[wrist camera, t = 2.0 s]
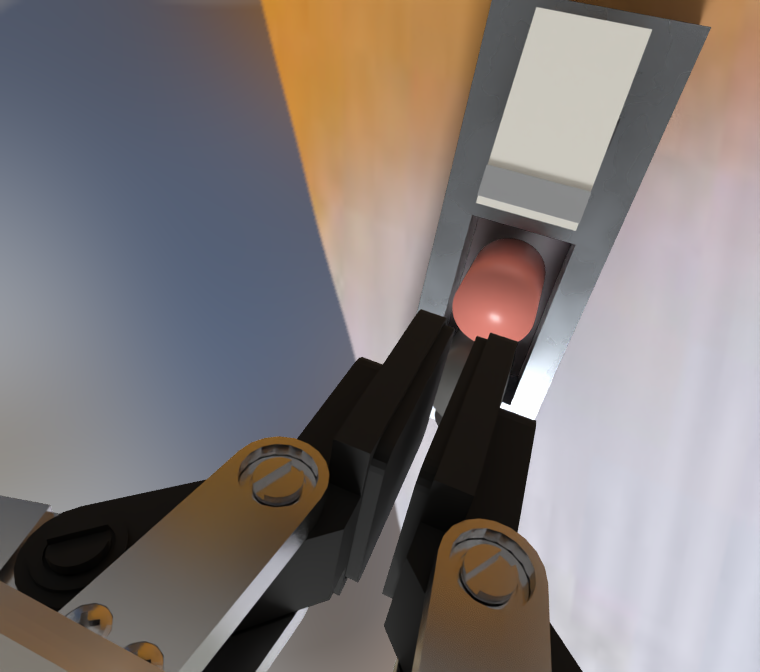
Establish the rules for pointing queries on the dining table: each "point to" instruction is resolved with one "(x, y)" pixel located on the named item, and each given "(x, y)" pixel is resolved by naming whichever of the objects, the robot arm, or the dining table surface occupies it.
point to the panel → (609, 192)
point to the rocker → (561, 115)
